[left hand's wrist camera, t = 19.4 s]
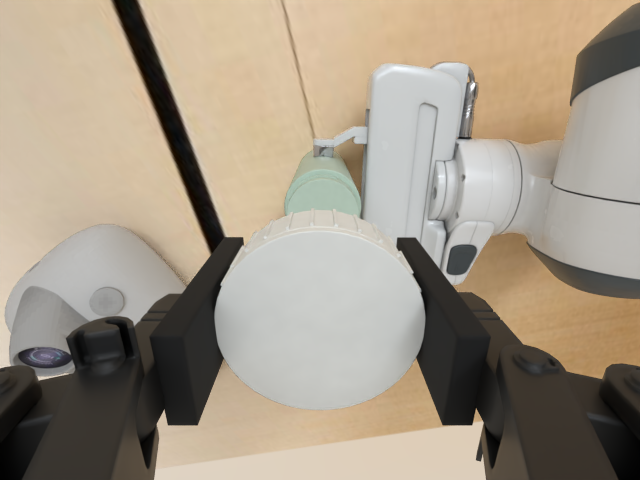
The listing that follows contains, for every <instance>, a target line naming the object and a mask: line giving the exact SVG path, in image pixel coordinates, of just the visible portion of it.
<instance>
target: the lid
mask: <svg viewBox="0 0 640 480" xmlns="http://www.w3.org/2000/svg"><path fill="white" fill-rule="evenodd" d="M413 273H414V272H413V271H412V269H411V267H410V265H409V264H408V262H407V260H406V259H405V257H404V255H403V253H402V252H401V251H398V249H397V248H396V246H395V244H394V242H393V241H392V239H391V237H390V236H386V235H385V234H383V233H382V232H381V231H380V230H378V229H377V227H376V225H375V224H374V223H372V225H371V224H370V223H368V222H366V221H365V220H362V219H360V218H358V217H357V215H356V214H354V215H349V214H346V213H342V212H337V211H336V209H333V211H330V210H314V208H311V211H302V212H298V213H293V212H290V214H289V215H287V216H285V217H282V218H279V219H277V220H276V221H274V220H271V221H270V223H269V224H268V225H267V226H265V227H264V228H263V229H261V230H260V231H259V232H257V231H255V232H254V233H253V235H252V237H251V239H250V240H249V242H248V243H247V244H246V246H243V245H242V247H241V248H240V250H239V252H238V254H237V255H236V257H235V259H234V260H233V262H232V264H231V266H230V269H229V270H228V272H227V274H226V275H225V277H224V279H223V281H222V282H221V286H222V287H221V290H220V292H219V295H218V297H217V301H216V306H215V314H214V319H215V327H216V335H217V342H218V346H219V348H220V351H221V353H222V355H223V357H224V359H225V361H226V362H227V364H228V366H229V367H230V368H231V369H232V371H233V372H234V373H235V374H236V376H237V377H238V378H240V379H241V380H242V381H243V382H244V383H245V384H246V385H247V386H249V387H250V388H251V389H253V390H254V391H255V392H257V393H259V394H261V395H262V396H264V397H266V398H268V399H270V400H272V401H275V402H277V403H280V404H283V405H286V406H290V407H295V408H300V409H308V410H331V409H340V408H345V407H350V406H353V405H357V404H360V403H362V402H365V401H367V400H370V399H372V398H374V397H376V396H378V395H379V394H381V393H383V392H384V391H386V390H387V389H389V388H390V387H391V386H393V385H394V384H395V383H396V382H397V381H398V380H399V379H401V378H402V376H403V375H404V374H405V373H406V372H407V371H408V369H409V368H410V367H411V365H412V364H413V362H414V360H415V359H416V357H417V355H418V353H419V350H420V348H421V345H422V342H423V337H424V329H425V308H424V302H423V299H422V296H421V293H420V292H421V289H420V287H419V285H418V283H417V282H416V280H415V278H414V276H413V275H412V274H413Z"/></svg>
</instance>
